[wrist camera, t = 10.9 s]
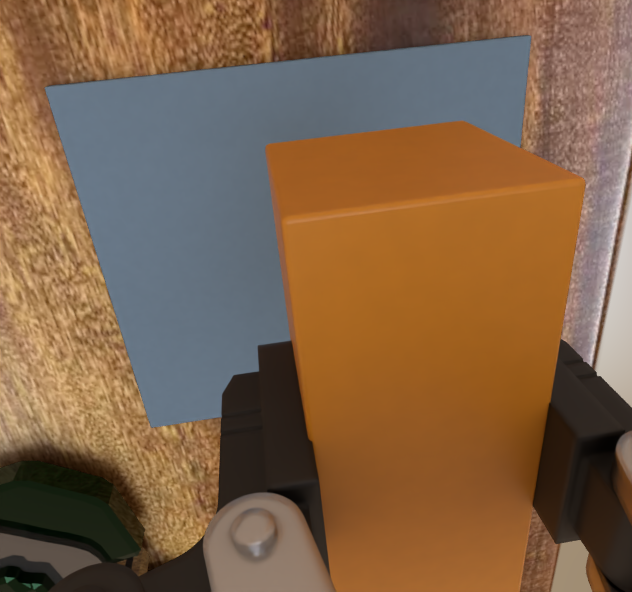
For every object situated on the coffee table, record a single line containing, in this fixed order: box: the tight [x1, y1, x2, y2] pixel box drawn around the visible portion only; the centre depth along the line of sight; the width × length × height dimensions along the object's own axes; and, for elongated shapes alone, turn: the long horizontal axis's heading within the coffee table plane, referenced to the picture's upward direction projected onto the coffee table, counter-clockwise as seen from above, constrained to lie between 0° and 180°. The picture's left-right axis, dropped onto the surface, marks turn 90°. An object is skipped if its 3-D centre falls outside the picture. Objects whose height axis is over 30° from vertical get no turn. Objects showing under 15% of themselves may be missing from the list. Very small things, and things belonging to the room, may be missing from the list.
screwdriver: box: [265, 120, 586, 592], centre depth 12 cm, size 4×20×4 cm, turn 5°
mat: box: [45, 35, 531, 428], centre depth 23 cm, size 18×16×1 cm
